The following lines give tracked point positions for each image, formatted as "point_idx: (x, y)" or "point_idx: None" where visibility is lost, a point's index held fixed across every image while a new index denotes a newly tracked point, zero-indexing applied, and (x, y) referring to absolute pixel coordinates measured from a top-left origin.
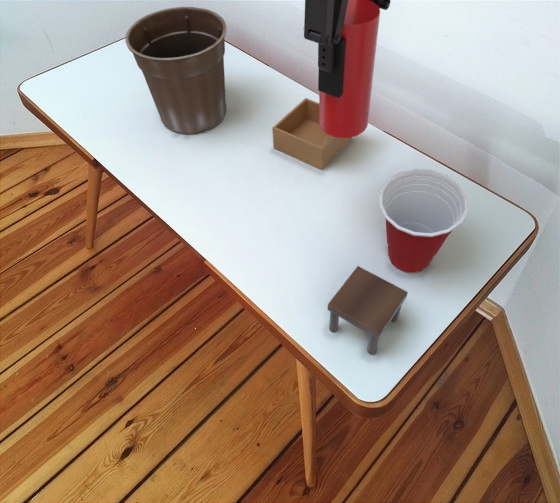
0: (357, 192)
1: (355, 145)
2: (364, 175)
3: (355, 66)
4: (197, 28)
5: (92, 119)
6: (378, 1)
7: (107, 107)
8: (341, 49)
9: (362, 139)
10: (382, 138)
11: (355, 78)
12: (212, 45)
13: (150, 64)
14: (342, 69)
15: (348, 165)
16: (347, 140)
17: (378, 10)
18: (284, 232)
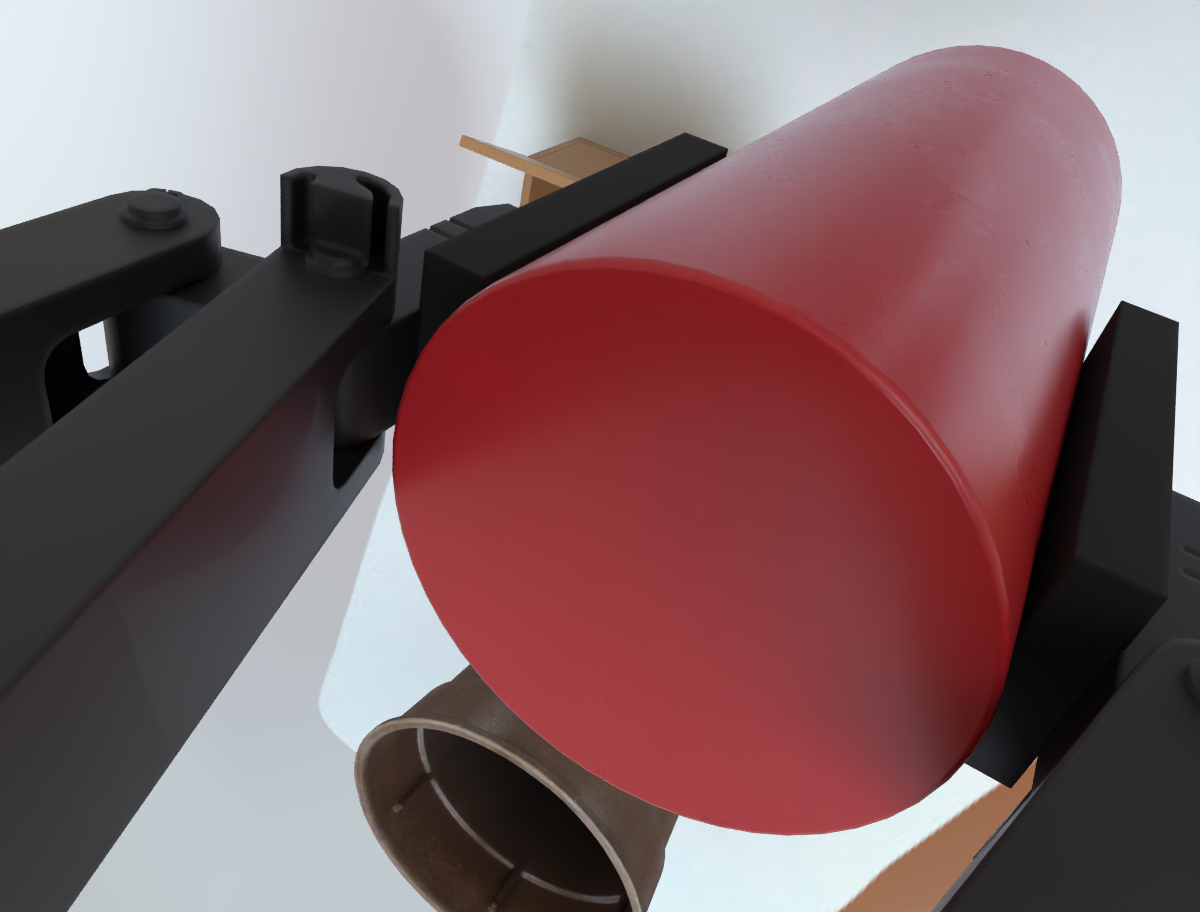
0: (861, 35)
1: (611, 114)
2: (758, 33)
3: (1047, 294)
4: (412, 759)
5: (741, 883)
6: (367, 300)
7: (685, 852)
8: (1168, 546)
9: (573, 96)
10: (544, 17)
11: (1060, 248)
12: (514, 760)
13: (647, 907)
14: (1133, 408)
15: (721, 114)
16: (604, 151)
17: (563, 284)
18: (1154, 278)
